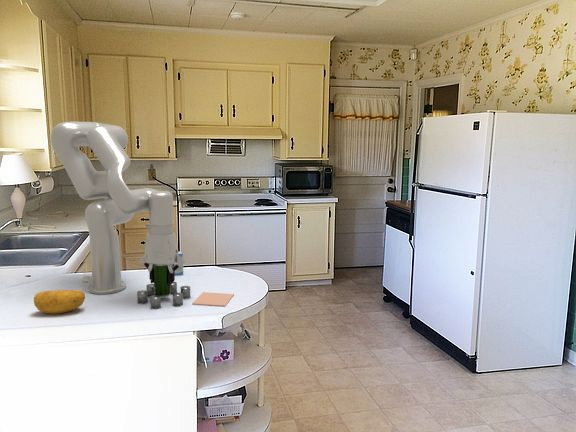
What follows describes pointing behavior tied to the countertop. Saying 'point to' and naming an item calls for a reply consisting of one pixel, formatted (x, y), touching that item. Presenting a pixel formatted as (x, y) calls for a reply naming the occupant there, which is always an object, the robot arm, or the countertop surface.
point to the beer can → (161, 280)
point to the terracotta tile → (213, 299)
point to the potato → (59, 301)
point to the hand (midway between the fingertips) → (162, 282)
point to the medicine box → (180, 269)
